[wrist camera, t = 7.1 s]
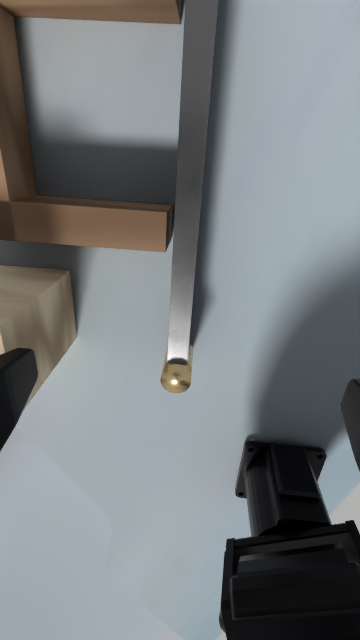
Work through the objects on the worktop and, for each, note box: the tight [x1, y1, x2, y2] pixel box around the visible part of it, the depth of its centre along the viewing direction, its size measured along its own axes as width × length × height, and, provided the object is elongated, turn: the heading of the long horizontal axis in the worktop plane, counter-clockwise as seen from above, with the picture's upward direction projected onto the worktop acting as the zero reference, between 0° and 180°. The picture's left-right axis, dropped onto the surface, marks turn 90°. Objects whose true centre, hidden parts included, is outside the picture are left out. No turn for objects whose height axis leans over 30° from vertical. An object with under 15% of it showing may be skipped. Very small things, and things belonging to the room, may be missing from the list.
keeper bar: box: [161, 0, 218, 393], centre depth 16 cm, size 21×2×4 cm, turn 177°
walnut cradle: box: [0, 0, 182, 252], centre depth 16 cm, size 12×10×3 cm
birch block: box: [0, 265, 77, 410], centre depth 19 cm, size 5×5×8 cm
